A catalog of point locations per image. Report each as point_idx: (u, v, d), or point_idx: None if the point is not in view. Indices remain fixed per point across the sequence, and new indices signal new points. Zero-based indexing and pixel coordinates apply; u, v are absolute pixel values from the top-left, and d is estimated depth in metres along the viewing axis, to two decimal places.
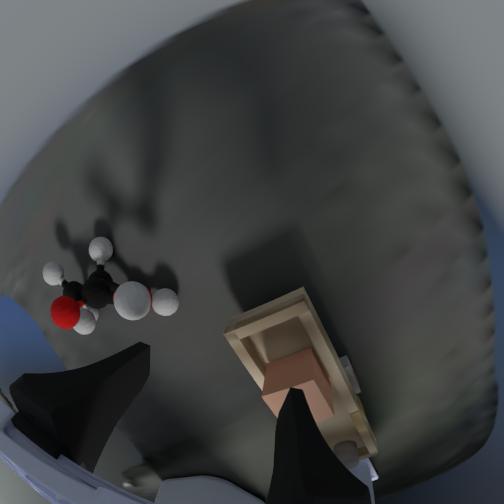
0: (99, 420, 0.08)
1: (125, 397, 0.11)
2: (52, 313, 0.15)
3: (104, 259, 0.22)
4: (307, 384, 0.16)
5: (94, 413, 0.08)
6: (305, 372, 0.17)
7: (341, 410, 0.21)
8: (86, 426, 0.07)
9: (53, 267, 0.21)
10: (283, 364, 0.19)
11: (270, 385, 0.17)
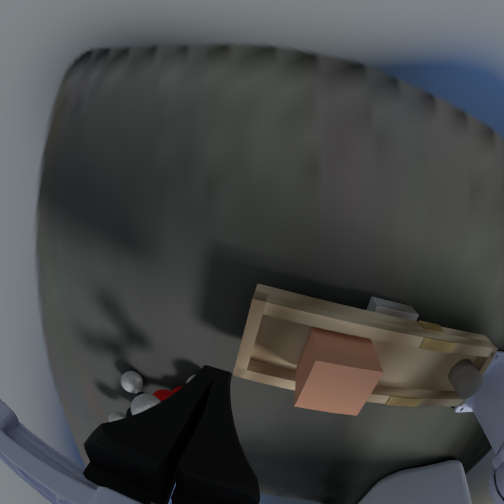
0: (180, 455, 0.08)
1: (196, 425, 0.10)
2: None
3: (138, 387, 0.23)
4: (316, 368, 0.13)
5: (178, 451, 0.08)
6: (312, 356, 0.14)
7: (414, 348, 0.17)
8: (173, 466, 0.07)
9: (113, 417, 0.23)
10: (302, 360, 0.17)
11: (297, 389, 0.15)
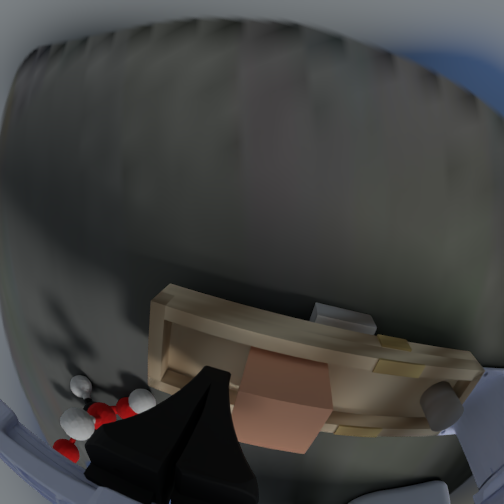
0: (180, 456, 0.08)
1: (197, 425, 0.10)
2: None
3: (86, 392, 0.20)
4: (242, 400, 0.10)
5: (179, 451, 0.08)
6: None
7: None
8: (174, 467, 0.07)
9: None
10: None
11: None
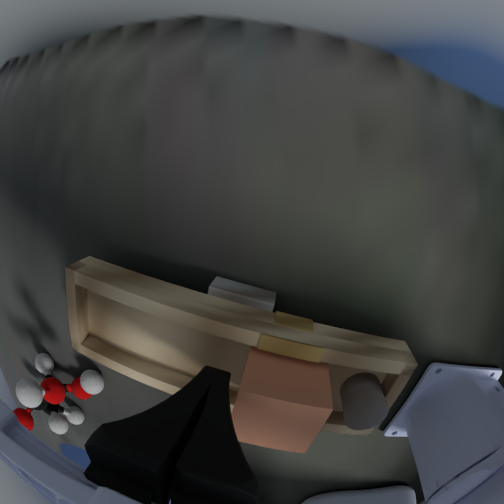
0: (180, 456, 0.08)
1: (197, 425, 0.10)
2: None
3: (48, 369, 0.21)
4: (242, 399, 0.10)
5: (179, 451, 0.08)
6: None
7: None
8: (173, 467, 0.07)
9: None
10: (240, 383, 0.14)
11: None
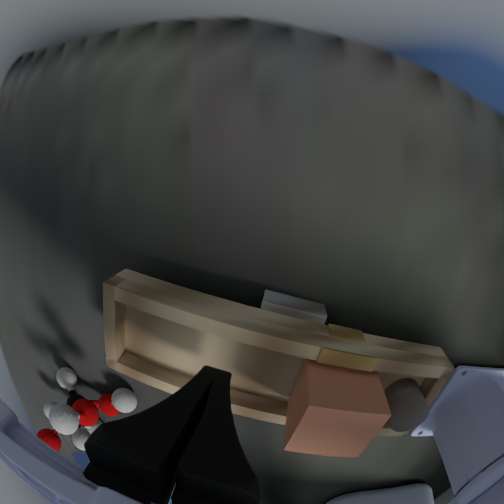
0: (180, 455, 0.08)
1: (196, 425, 0.10)
2: None
3: (71, 384, 0.20)
4: (310, 413, 0.10)
5: (178, 451, 0.08)
6: (305, 396, 0.11)
7: None
8: (173, 466, 0.07)
9: (47, 406, 0.20)
10: (294, 395, 0.13)
11: (288, 431, 0.12)
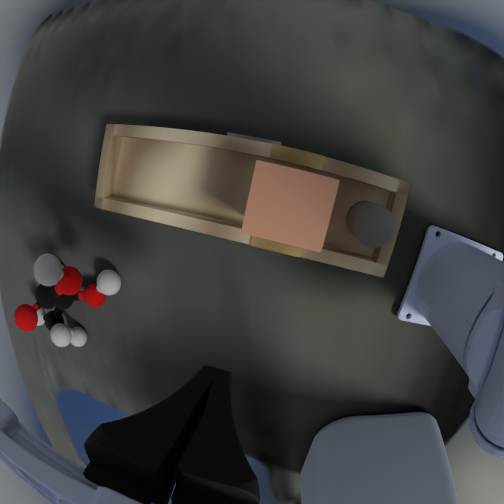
0: (180, 455, 0.08)
1: (196, 425, 0.10)
2: (15, 320, 0.16)
3: None
4: (259, 171, 0.13)
5: (178, 451, 0.08)
6: None
7: None
8: (173, 466, 0.07)
9: None
10: None
11: None
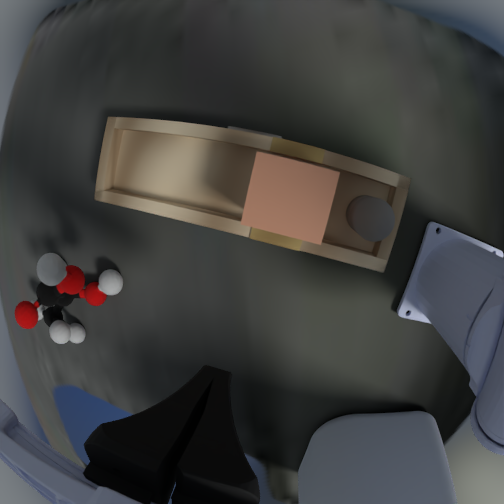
0: (180, 455, 0.08)
1: (196, 425, 0.10)
2: (15, 317, 0.16)
3: None
4: (259, 163, 0.13)
5: (179, 451, 0.08)
6: None
7: None
8: (173, 466, 0.07)
9: (32, 303, 0.22)
10: None
11: None
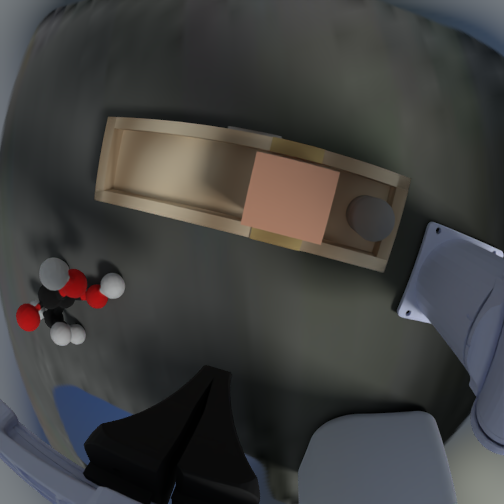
0: (180, 455, 0.08)
1: (196, 425, 0.10)
2: (17, 319, 0.16)
3: None
4: (259, 163, 0.13)
5: (179, 451, 0.08)
6: None
7: None
8: (173, 466, 0.07)
9: (32, 303, 0.22)
10: None
11: None
